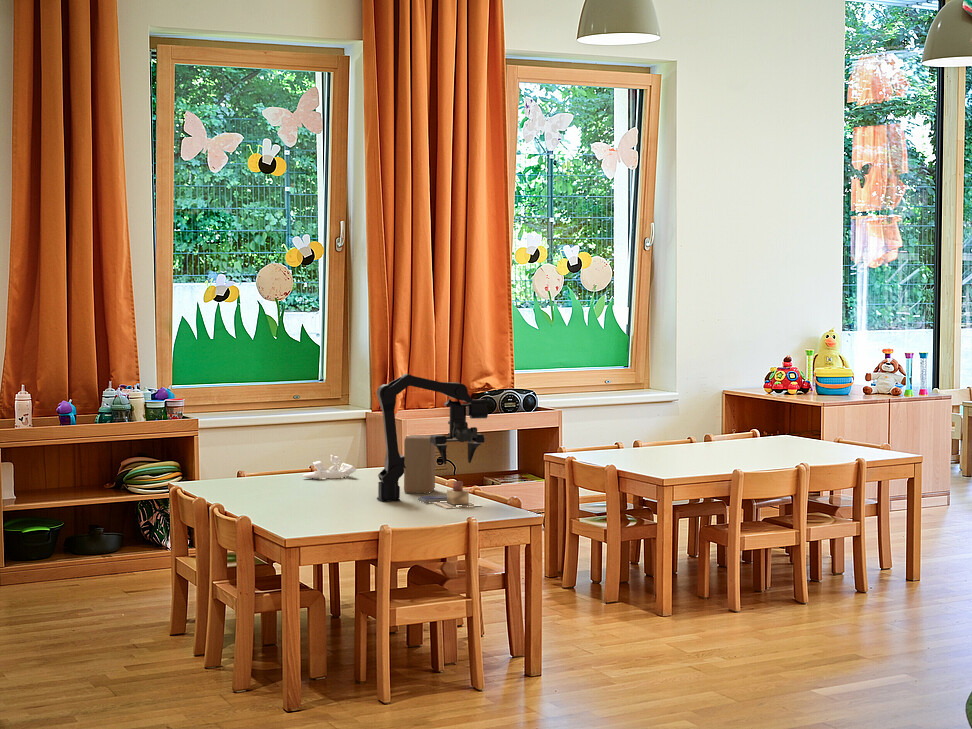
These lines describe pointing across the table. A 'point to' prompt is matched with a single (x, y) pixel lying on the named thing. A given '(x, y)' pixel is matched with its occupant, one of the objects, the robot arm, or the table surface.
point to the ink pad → (432, 498)
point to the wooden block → (419, 464)
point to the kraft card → (446, 505)
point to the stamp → (457, 494)
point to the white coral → (330, 470)
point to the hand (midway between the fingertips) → (457, 463)
